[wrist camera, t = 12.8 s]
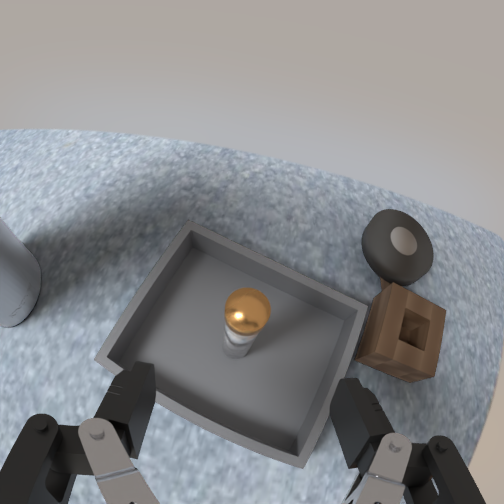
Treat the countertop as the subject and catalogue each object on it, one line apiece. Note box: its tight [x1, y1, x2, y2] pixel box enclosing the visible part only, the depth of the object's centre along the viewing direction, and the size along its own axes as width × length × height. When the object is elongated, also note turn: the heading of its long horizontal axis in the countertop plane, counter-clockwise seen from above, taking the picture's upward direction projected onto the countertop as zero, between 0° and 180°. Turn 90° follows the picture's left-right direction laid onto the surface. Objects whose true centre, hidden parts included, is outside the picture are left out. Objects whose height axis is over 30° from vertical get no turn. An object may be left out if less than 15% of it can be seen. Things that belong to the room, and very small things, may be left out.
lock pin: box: [222, 288, 271, 359], centre depth 19 cm, size 2×2×10 cm
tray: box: [94, 220, 368, 469], centre depth 23 cm, size 18×15×4 cm
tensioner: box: [355, 209, 446, 383], centre depth 26 cm, size 11×16×5 cm
